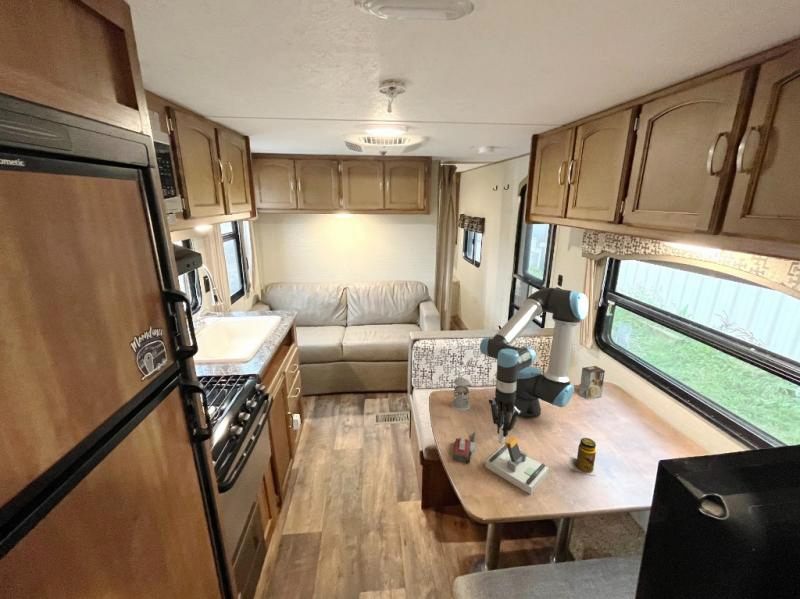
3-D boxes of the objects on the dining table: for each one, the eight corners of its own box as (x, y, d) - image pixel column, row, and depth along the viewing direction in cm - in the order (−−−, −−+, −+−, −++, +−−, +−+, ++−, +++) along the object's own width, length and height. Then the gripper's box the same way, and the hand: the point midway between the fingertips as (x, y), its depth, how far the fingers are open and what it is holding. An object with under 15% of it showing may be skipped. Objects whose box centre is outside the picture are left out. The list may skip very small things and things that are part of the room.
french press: (449, 408, 177) (450, 364, 170) (454, 397, 187) (456, 355, 181) (468, 412, 173) (470, 367, 167) (472, 400, 183) (474, 358, 177)
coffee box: (592, 391, 191) (596, 365, 187) (601, 397, 185) (605, 370, 181) (578, 393, 189) (582, 367, 185) (587, 399, 183) (591, 372, 179)
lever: (518, 459, 135) (512, 436, 136) (524, 460, 133) (517, 436, 134) (511, 466, 131) (504, 442, 132) (516, 467, 130) (509, 443, 130)
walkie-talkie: (474, 466, 136) (476, 435, 155) (474, 457, 135) (476, 427, 154) (452, 463, 139) (456, 433, 157) (452, 453, 138) (457, 424, 156)
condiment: (594, 476, 130) (598, 449, 127) (569, 468, 134) (573, 442, 131) (594, 464, 137) (597, 438, 134) (570, 457, 140) (573, 432, 138)
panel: (503, 450, 145) (504, 438, 143) (547, 474, 131) (549, 461, 130) (485, 467, 136) (486, 454, 134) (530, 494, 122) (532, 480, 121)
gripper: (485, 386, 132) (482, 438, 138) (516, 398, 123) (511, 454, 129) (496, 379, 137) (492, 430, 143) (526, 391, 128) (521, 445, 134)
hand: (501, 441), depth 136 cm, fingers closed
